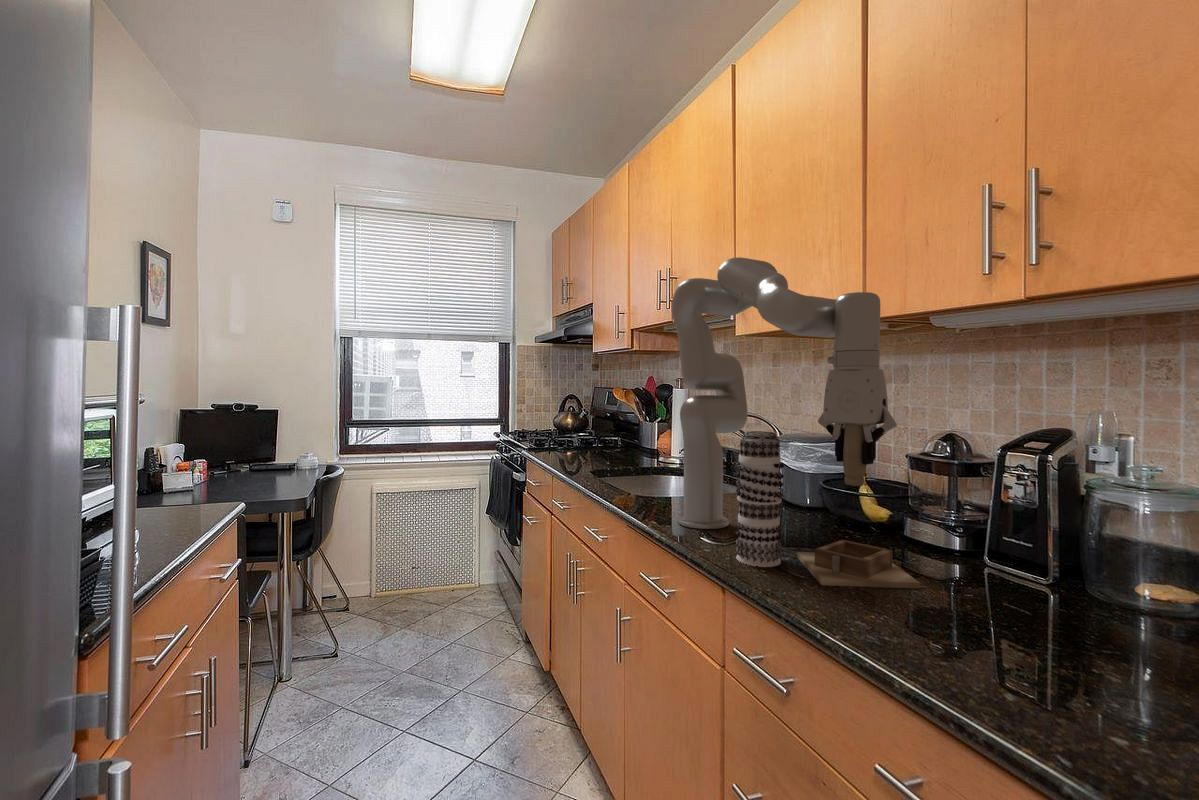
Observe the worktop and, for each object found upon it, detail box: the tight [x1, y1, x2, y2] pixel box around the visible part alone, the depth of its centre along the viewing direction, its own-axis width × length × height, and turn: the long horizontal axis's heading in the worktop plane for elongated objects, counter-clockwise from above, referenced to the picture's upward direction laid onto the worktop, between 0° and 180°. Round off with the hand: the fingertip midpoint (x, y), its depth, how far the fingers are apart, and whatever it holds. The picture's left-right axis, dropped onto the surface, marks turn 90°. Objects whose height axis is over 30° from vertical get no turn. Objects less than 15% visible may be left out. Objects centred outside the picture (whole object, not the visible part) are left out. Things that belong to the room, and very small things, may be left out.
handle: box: [842, 424, 867, 487], centre depth 102 cm, size 5×6×15 cm
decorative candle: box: [734, 430, 785, 568], centre depth 109 cm, size 9×9×25 cm
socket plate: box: [796, 539, 921, 590], centre depth 103 cm, size 16×16×4 cm
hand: (854, 461), depth 102 cm, fingers closed on handle, 4 cm apart
